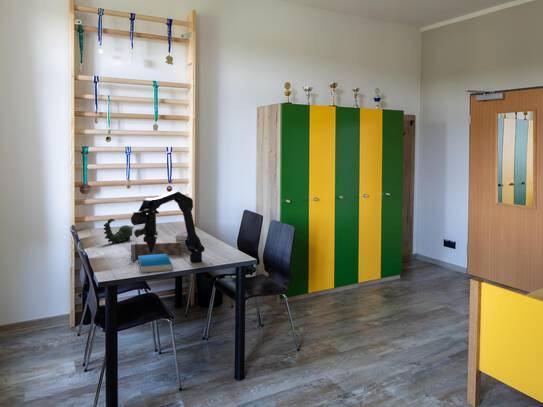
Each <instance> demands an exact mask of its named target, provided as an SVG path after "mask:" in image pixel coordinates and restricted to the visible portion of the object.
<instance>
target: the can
mask: <svg viewBox="0 0 543 407" xmlns="http://www.w3.org/2000/svg"><path fill="white" fill-rule="evenodd" d="M174 236H175V242H181V254H190V253H191V251H188V248H187V246H185V245H186V243H185V239H186V238H187V231H179V232H176V233H175V235H174Z"/></svg>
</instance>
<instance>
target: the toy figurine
mask: <svg viewBox="0 0 543 407" xmlns="http://www.w3.org/2000/svg"><path fill="white" fill-rule="evenodd" d="M115 221H116V220H115V219H114V218H110V219H108V220H107V222H105V223H104V224H103V227H104V228H103V230H104V232H103V233H104V235H106V236H104V239H107V242H108V243H118V244H120V243H121V242H125V241H131V237H132V236H133V229H134V226H130V225H127V224H126V225H125V224H124V225H122V226H121V227H119V229H118V231H117V232H116V233H114V232H113V231H112V227H111V224H112V222H115Z"/></svg>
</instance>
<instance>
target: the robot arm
mask: <svg viewBox="0 0 543 407" xmlns="http://www.w3.org/2000/svg"><path fill="white" fill-rule="evenodd" d="M173 201H174V202H175V203H176V204H177V206H178V209H179V210H180V212H182V214H183V220H184V225H185V230H186V232H187V238H186V239H185V243H186V245H185V246H187V248H188V251H191V252H190V253H189V261H190V262H191V263H203V252H205V246H204V245H203V244H202V242H201V239H200V237H199V236H198V234H197V231H196V228H195V223H194V217H193V212H192V211H193V208H194V199H193V198H191V197H190V196H188V195H186V194H183V193H181V192H180V191H178V190H173V191H172V190H171V192H168V193H165V194H163V195H160V196H157V197H152V198H151V197H149V198H144V199H143V200H142V203H141V206H140V207H139V209H138V211H134V212H133V214H132V215H131V217H130V221H131V224H132V225H133V226H138V225H139V226H140V225H143V227H140V228H137V229H135V230H134V231H133V234H134V236H135V238H139V237H141V236H143V235H144V237H143V242H144V243H147V244H148V247H149V251H150V253H152V252H153V249H154V246H155V243H157V240H158V236H159V234H158V233H159V232H158V231H157V216H156V215H159V214H160V212H159V211H158V209H159V208H160V207H161V206H162V205H164V204H166V203H170V202H173ZM143 242H142V243H143Z"/></svg>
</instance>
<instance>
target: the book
mask: <svg viewBox="0 0 543 407" xmlns="http://www.w3.org/2000/svg"><path fill="white" fill-rule="evenodd" d="M137 259H138V263H139V267H140V271H141V273H148V272H149V273H150V272H159V271H160V272H161V271H171V270H173V267H174V266H173V264H172V262H171V260H170V258H169V256H167V254H156V255H143V256H138V257H137Z"/></svg>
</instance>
